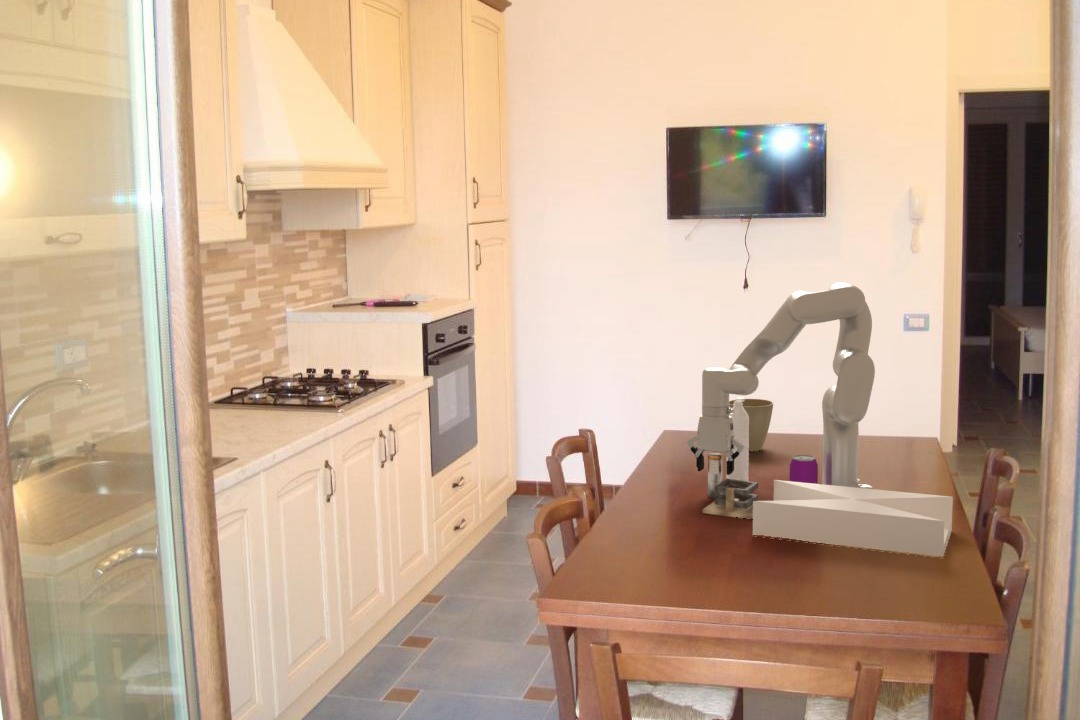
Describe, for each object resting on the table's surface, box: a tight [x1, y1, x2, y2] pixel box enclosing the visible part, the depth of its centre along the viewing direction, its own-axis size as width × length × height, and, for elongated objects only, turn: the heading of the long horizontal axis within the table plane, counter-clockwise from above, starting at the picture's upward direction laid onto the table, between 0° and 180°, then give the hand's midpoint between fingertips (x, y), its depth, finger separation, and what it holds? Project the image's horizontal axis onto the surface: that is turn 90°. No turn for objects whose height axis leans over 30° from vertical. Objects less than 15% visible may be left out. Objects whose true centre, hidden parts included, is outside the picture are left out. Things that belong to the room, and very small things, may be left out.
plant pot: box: [729, 398, 774, 453], centre depth 361 cm, size 15×15×16 cm
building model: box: [752, 479, 954, 558], centre depth 272 cm, size 45×22×10 cm, turn 65°
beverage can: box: [788, 454, 819, 484], centre depth 303 cm, size 8×8×12 cm
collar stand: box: [702, 478, 759, 520], centre depth 294 cm, size 14×14×7 cm
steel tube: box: [707, 452, 724, 499], centre depth 307 cm, size 4×4×12 cm
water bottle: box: [725, 396, 750, 486], centre depth 319 cm, size 9×6×25 cm
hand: (715, 471), depth 307 cm, fingers open, 8 cm apart
